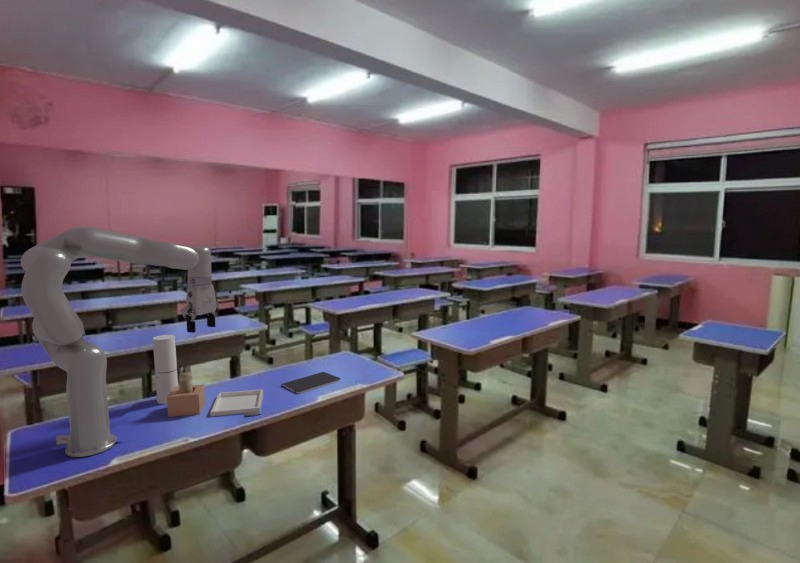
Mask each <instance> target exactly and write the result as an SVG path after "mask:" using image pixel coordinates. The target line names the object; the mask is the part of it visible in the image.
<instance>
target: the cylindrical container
mask: <svg viewBox="0 0 800 563" xmlns="http://www.w3.org/2000/svg"><path fill="white" fill-rule="evenodd" d="M152 348H153V360H154V376H155V389H156V403H158V404H160V405H167V396H168V395H169V393H170V392H171V391H172V389H173V388H174V387H177V386H179V377H178V365H177V364H178V363H177V362H178V361H177V350H176V335H174V334H162V335H156V336H154V337H152Z"/></svg>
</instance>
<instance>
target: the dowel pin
mask: <svg viewBox="0 0 800 563" xmlns="http://www.w3.org/2000/svg"><path fill="white" fill-rule="evenodd" d="M192 374H193V373H192V372H190V371H187V372H186V371H185V372H181V373H179V374H178V385H179V386H180V394H183V393H193V388H192V385H193V375H192Z"/></svg>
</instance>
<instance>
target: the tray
mask: <svg viewBox="0 0 800 563" xmlns="http://www.w3.org/2000/svg"><path fill="white" fill-rule="evenodd" d="M263 399H264V389H263V388H261V389H251V390H250V389H249V390H239V391H238V390H237V391H226V392H225V391H223V392H219V393H218V395H217V397H216V399H215V401H214V403H213V406H212V408H211V410H210V417H219V416H220V417H221V416H231V415H239V414H240V415H243V414H244V415H243V416H244V417H246V416H249V415H250V416H257V415H258V416H259V414H260V415H261V410H262V406H263V405H262V404H263ZM250 416H249V417H250Z"/></svg>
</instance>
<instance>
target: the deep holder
mask: <svg viewBox="0 0 800 563" xmlns="http://www.w3.org/2000/svg"><path fill="white" fill-rule="evenodd" d="M192 388H193V393H183V394H180V385H178V386H177V387H174V388H173V389H172V391H171V392H170V393H169V395H168V396H167V404H166V405H167V406H166V408H167V417H168V418H172V417H182V416H194V415H195V416H196V415H200V414H201V413H202V411H203V409H204V406H205V404H206V391H205V389H206V388H205V384H192Z"/></svg>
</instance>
